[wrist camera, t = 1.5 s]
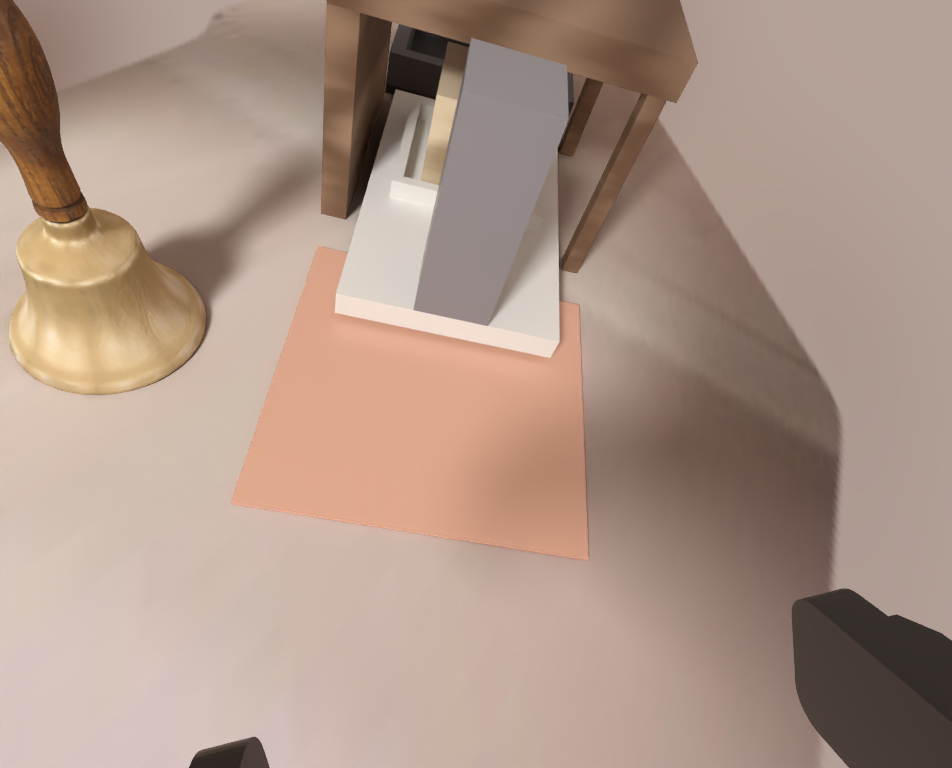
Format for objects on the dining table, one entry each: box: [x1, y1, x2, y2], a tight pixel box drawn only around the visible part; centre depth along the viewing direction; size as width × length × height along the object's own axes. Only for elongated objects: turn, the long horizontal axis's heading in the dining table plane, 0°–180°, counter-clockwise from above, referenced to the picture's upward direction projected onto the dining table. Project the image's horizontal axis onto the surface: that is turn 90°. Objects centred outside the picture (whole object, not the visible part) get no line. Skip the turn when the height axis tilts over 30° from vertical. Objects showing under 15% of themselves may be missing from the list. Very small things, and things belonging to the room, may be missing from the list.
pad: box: [231, 246, 589, 560], centre depth 31 cm, size 16×16×1 cm
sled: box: [335, 38, 569, 358], centre depth 33 cm, size 12×20×14 cm, turn 176°
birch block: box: [420, 42, 469, 185], centre depth 36 cm, size 6×6×6 cm
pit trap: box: [386, 24, 574, 114], centre depth 48 cm, size 14×10×3 cm
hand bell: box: [0, 0, 206, 395], centre depth 22 cm, size 8×8×16 cm
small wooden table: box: [321, 0, 698, 273], centre depth 36 cm, size 17×14×14 cm
